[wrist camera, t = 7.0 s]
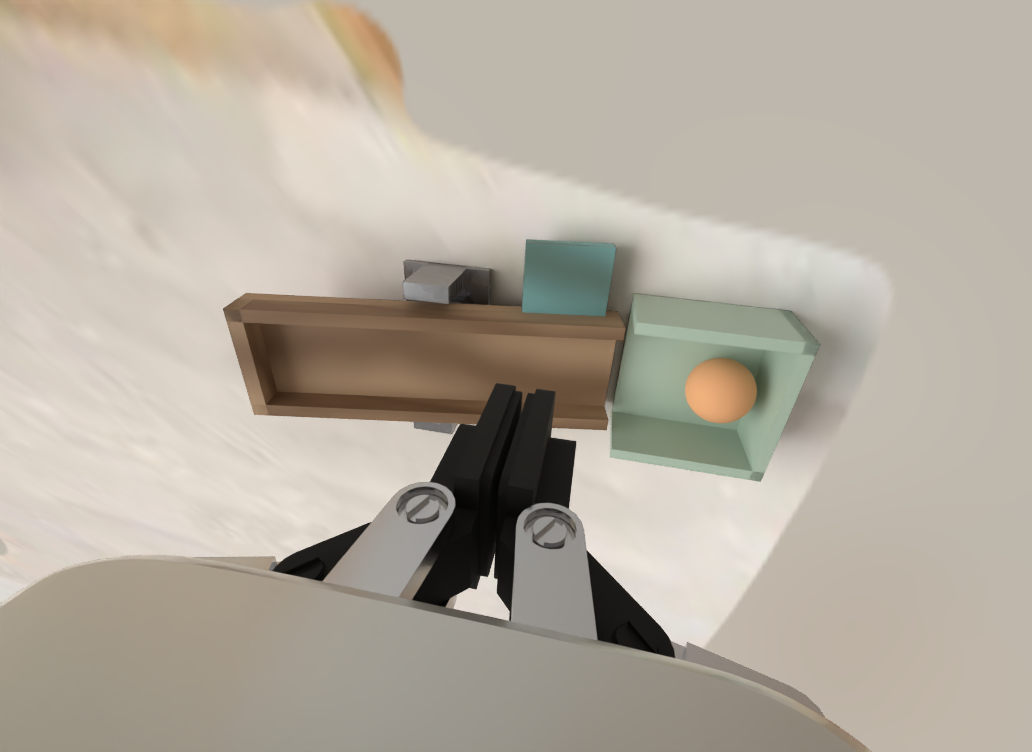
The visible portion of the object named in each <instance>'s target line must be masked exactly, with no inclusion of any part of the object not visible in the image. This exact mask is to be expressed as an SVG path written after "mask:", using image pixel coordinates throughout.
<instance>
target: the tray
mask: <svg viewBox="0 0 1032 752" xmlns="http://www.w3.org/2000/svg"><path fill="white" fill-rule="evenodd" d="M819 346H820V343H819V342H818V341H817V340H816V339H815V338H814V336H813V335H812V334H811V333H810V332H809V331H808V330H807V329H806V327H805V326H804V325H803V324H802V323H801V322H800V321H799V319H798V318H797V317H796V316H795V315H794V314H793V313H792V312H791V311H787V310H778V309H769V308H760V307H751V306H742V305H733V304H724V303H715V302H706V301H697V300H688V299H679V298H670V297H661V296H652V295H643V294H634V296H633V302H632V307H631V312H630V317H629V323H628V328H627V333H626V338H625V344H624V349H623V354H622V359H621V365H620V370H619V375H618V381H617V386H616V391H615V396H614V402H613V407H612V412H611V422H610V457H611V458H617V459H623V460H630V461H636V462H642V463H648V464H654V465H661V466H667V467H673V468H679V469H685V470H692V471H698V472H704V473H710V474H716V475H723V476H729V477H735V478H741V479H747V480H754V481H760V482H761V480H762V478H763V475H764V473H765V471H766V468H767V466H768V464H769V461H770V459H771V457H772V455H773V452H774V450H775V448H776V445H777V443H778V441H779V438H780V436H781V434H782V431H783V429H784V427H785V425H786V422H787V420H788V418H789V415H790V413H791V411H792V408H793V406H794V404H795V401H796V399H797V397H798V395H799V392H800V390H801V388H802V385H803V383H804V381H805V378H806V376H807V374H808V371H809V369H810V367H811V365H812V362H813V360H814V358H815V355H816V353H817V351H818V348H819ZM713 358H728V359H732V360H735V361H737V362H739V363H741V364H742V365H744V366H745V367H746V368H747V369H748V370H749V371H750V372H751V374H752V375H753V377H754V379H755V382H756V386H757V396H756V400H755V403H754V405H753V407H752V408H751V410H750V411H749V412H748V413H747V414H746V415H745V416H743V417H742V418H740V419H738V420H736V421H733V422H730V423H713V422H709V421H707V420H705V419H703V418H701V417H699V416H698V415H697V414H696V413H694V411H693V410H692V409H691V408H690V406H689V404H688V402H687V399H686V396H685V385H686V381H687V378H688V376H689V374H690V373H691V371H692V370H693V369H694V368H695V367H696V366H697V365H699V364H700V363H702V362H704V361H706V360H709V359H713Z"/></svg>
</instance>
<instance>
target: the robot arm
mask: <svg viewBox="0 0 1032 752" xmlns="http://www.w3.org/2000/svg"><path fill="white" fill-rule="evenodd" d="M555 395H556V391H550V390H543V389H536V391H535V394H534V393H528V394H527V397H526V400H525V403H524V406H523V409H522V396H523V394H522V392H520V391H516V386H514V385H507V384H500V383H496V384H495V386H494V388H493V391H492V393H491V395H490V397H489V399H488V401H487V404H486V406H485V408H484V410H483V412H482V414H481V417H480V419H479V421H478V423H477V425H476V426H474V425H467V424H460V426H459V427H458V429H457V431H456V433H455V435H454V437H453V439H452V440H451V442H450V444H449V446H448V448H447V450H446V452H445V454H444V456H443V458H442V460H441V462H440V464H439V466H438V467H437V469H436V471H435V473H434V475H433V477H432V479H431V481H430V482H418V483H415V484H411V485H408V486H406V487H404V488H402V489H401V490H399V491H398V492H397V493H396V494H395V495H394V496H393V497H392V498H391V500H390V501H389V502H388V503H387V504H386V506H385V507H384V508H383V509H382V510H381V512H380V513H379V514H378V515H377V516H376V518H375V519H374V520H373V521H372V522H370V523H367V524H365V525H362V526H360V527H358V528H355V529H353V530H350V531H348V532H345V533H343V534H340V535H338V536H335V537H333V538H330V539H328V540H325V541H323V542H321V543H318V544H316V545H313V546H311V547H308V548H306V549H303V550H301V551H298V552H296V553H294V554H292V555H290V556H288V557H287V558H285V559H284V560H283V561H281V562H276V558H275V557H184V556H169V555H133V556H121V557H113V558H106V559H98V560H93V561H89V562H84V563H80V564H77V565H73V566H69V567H66V568H63V569H61V570H58V571H56V572H53V573H51V574H48V575H46V576H45V577H43V578H41V579H39V580H37V581H35V582H33V583H31V584H30V585H28V586H26V587H25V588H23V589H21V590H20V591H18V592H17V593H15V594H13V595H12V596H10V597H9V598H7V599H6V600H4V601H3V602H1V603H0V752H871V751H870V750H869V749H868V748H867V747H866V746H864V745H863V744H862V743H860V742H859V741H858V740H857V739H855V738H854V737H853V736H851V735H850V734H849V733H847V732H846V731H844V730H843V729H841V728H840V727H839V726H837V725H836V724H834V723H833V722H831V721H830V720H828V719H826V718H825V716H824V715H823V713H822V712H821V710H820V709H819V708H818V707H817V706H816V705H815V704H814V703H813V702H812V701H811V700H810V699H809V698H808V697H807V696H806V695H804V694H802V693H801V692H799V691H798V690H796V689H794V688H792V687H791V686H789V685H786V684H784V683H782V682H779V681H777V680H775V679H772V678H770V677H768V676H765V675H763V674H761V673H758V672H756V671H754V670H751V669H749V668H747V667H744V666H742V665H740V664H737V663H735V662H733V661H730V660H728V659H725V658H723V657H721V656H719V655H716V654H714V653H711V652H709V651H707V650H704V649H702V648H700V647H697V646H695V645H693V644H690V643H688V642H687V644H686V647H683V646H681V645H679V644H676V643H674V642H672V641H670V639H669V637H668V636H667V634H666V633H665V632H664V630H663V629H662V628H661V626H660V625H659V624H658V623H657V622H656V621H655V620H654V619H653V618H652V617H651V616H650V615H649V614H648V613H647V612H646V611H645V610H644V609H643V608H642V607H641V606H640V605H639V604H638V603H637V602H636V601H635V600H634V599H633V598H632V597H631V595H630V594H629V593H628V592H627V591H626V590H625V589H624V588H623V587H622V586H621V585H620V584H619V583H618V582H617V581H616V580H615V579H614V578H613V577H612V576H611V575H610V574H609V573H608V572H607V571H606V570H605V569H604V568H603V567H602V566H601V564H600V563H599V562H598V561H597V560H596V559H595V558H594V557H593V556H592V555H591V554H590V553H589V552H588V551H587V550H586V542H585V534H584V528H583V525H582V522H581V521H580V519H579V518H578V517H577V515H576V514H575V513H573V512H572V511H571V510H569V502H570V493H571V484H572V476H573V467H574V458H575V450H576V441H570V440H564V439H557V438H551V431H552V422H553V413H554V404H555ZM521 410H522V412H521ZM494 554H495V568H494V578H496V579H498V581H497V594H498V595H499V597H500V598H501V600H502V601H503V602H504V604H505V605H506V607H507V608H508V610H509V611H510V613H509V621H507V620H502V619H498V618H493V617H488V616H484V615H479V614H474V613H469V612H465V611H460V610H455V609H453V608H454V605H455V602H456V595H457V594H459V593H461V592H463V591H464V590H466V589H468V588H472V589H477V586H478V582H479V579H480V576H486V577H488V575H489V572H490V569H491V565H492V561H493V558H494Z"/></svg>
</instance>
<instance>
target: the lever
mask: <svg viewBox="0 0 1032 752" xmlns="http://www.w3.org/2000/svg"><path fill="white" fill-rule="evenodd" d="M615 253H616V247H615V246H614V244H607V243H587V242H568V241H549V240H529V239H526V249H525V265H524V282H523V299H522V307H519V306H499V305H478V304H458V303H449V304H443V303H435V302H417V301H397V300H376V299H356V298H335V297H315V296H295V295H274V294H254V293H245V294H244V295H242V296H241V297H240V298H238V299H237V300H235V301H234V302H232V303H231V304H229V305H228V306H226V307H225V308H223V311H224V314H225V318H226V321H227V324H228V328H229V331H230V334H231V338H232V341H233V345H234V348H235V351H236V355H237V358H238V361H239V365H240V368H241V372H242V375H243V378H244V382H245V385H246V388H247V392H248V395H249V399H250V402H251V405H252V409H253V412H254V415H272V416H295V417H318V418H341V419H364V420H386V421H409V422H432V423H455V424H477V423H478V421H479V419H480V417H481V414H482V412H483V410H484V408H485V406H486V404H487V401H488V399H489V397H490V395H491V393H492V391H493V388H494V386H495V384H496V383H500V384H507V385H514V386H516V391H520V392H522V394H523V396H522V409H523V406H524V403H525V400H526V397H527V394H528V393H534V394H535V391H536V389H543V390H550V391H556V395H555V404H554V413H553V422H552V428H569V429H592V430H607V425H608V417H607V414H606V410H605V407H604V405H605V400H606V394H607V389H608V383H609V378H610V372H611V366H612V361H613V355H614V350H615V344H616V340H619V341H623V339H624V334H625V329H626V328H625V326H624V324H623V322H622V320H621V318H620V315H619V313H618V311H606V309H607V302H608V296H609V290H610V284H611V277H612V271H613V265H614V259H615ZM521 412H522V410H521Z"/></svg>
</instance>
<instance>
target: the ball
mask: <svg viewBox="0 0 1032 752" xmlns="http://www.w3.org/2000/svg"><path fill="white" fill-rule="evenodd" d="M685 396H686V399H687V402H688V404H689V406H690V408H691V409H692V410H693V411H694V413H696V414H697V415H698V416H699V417H701V418H703V419H705V420H707V421H709V422H713V423H730V422H733V421H736V420H738V419H740V418H742V417H743V416H745V415H746V414H747V413H748V412H749V411H750V410H751V408H752V407H753V405H754V403H755V400H756V396H757V386H756V382H755V379H754V377H753V375H752V374H751V372H750V371H749V370H748V369H747V368H746V367H745V366H744V365H742V364H741V363H739V362H737V361H735V360H732V359H728V358H713V359H709V360H706V361H704V362H702V363H700V364H699V365H697V366H696V367H695V368H694V369H693V370H692V371H691V373H690V374H689V376H688V378H687V381H686V385H685Z"/></svg>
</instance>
